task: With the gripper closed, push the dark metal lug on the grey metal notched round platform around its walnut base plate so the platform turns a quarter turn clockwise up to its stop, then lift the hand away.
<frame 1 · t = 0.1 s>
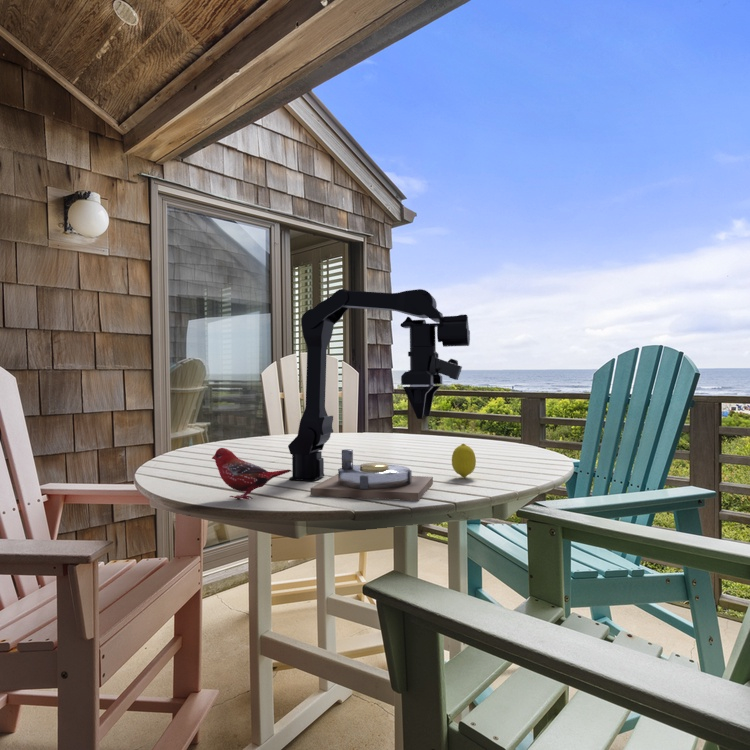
hand: (423, 417, 113), 15 cm above the table, tool pointing down, fingers open, 9 cm apart
decorative bird figurine: (250, 501, 99), on the table
base plate: (374, 489, 107), on the table
notched round platform: (374, 466, 107), point 5 cm above the table, hinge at 0.0°
lemon: (463, 478, 119), on the table
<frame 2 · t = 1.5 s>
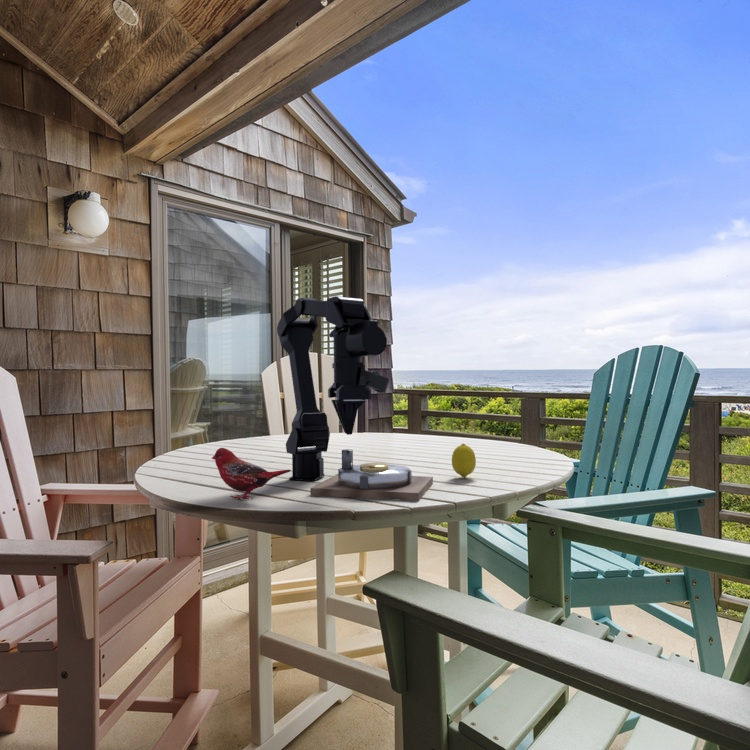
hand: (348, 434, 105), 12 cm above the table, tool pointing down, fingers closed
nothing on the table moved.
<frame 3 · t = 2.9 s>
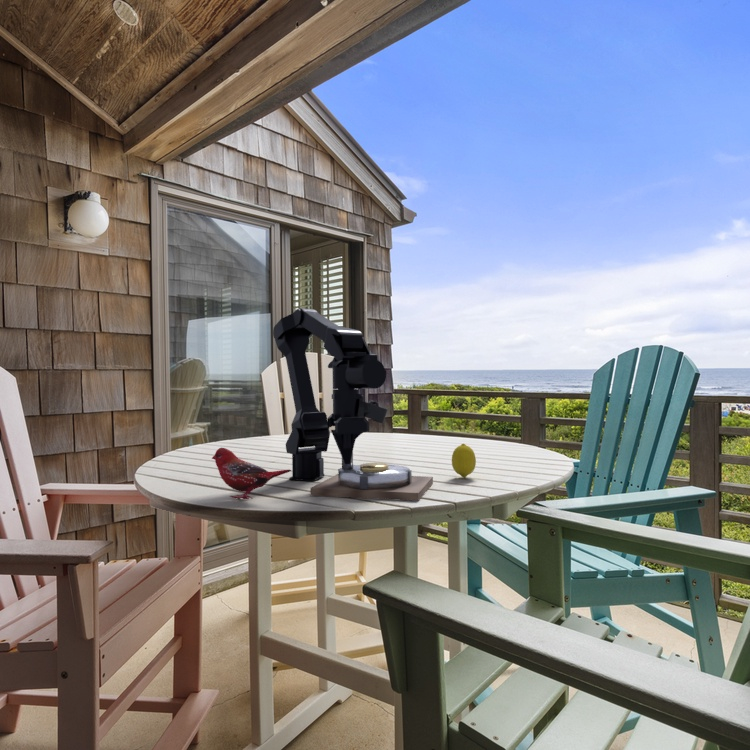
hand: (347, 463, 106), 6 cm above the table, tool pointing down, fingers closed
notched round platform: (374, 466, 107), point 5 cm above the table, hinge at 0.3°, touching gripper
everything else where it was.
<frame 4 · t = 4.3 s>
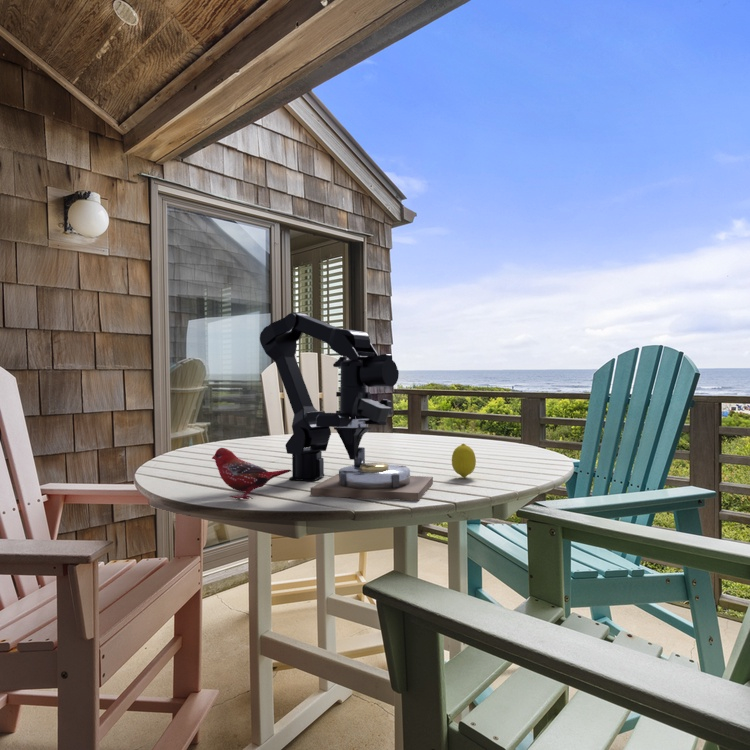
hand: (352, 459, 110), 6 cm above the table, tool pointing down, fingers closed
notched round platform: (374, 466, 107), point 5 cm above the table, hinge at 41.1°, touching gripper
everything else where it was.
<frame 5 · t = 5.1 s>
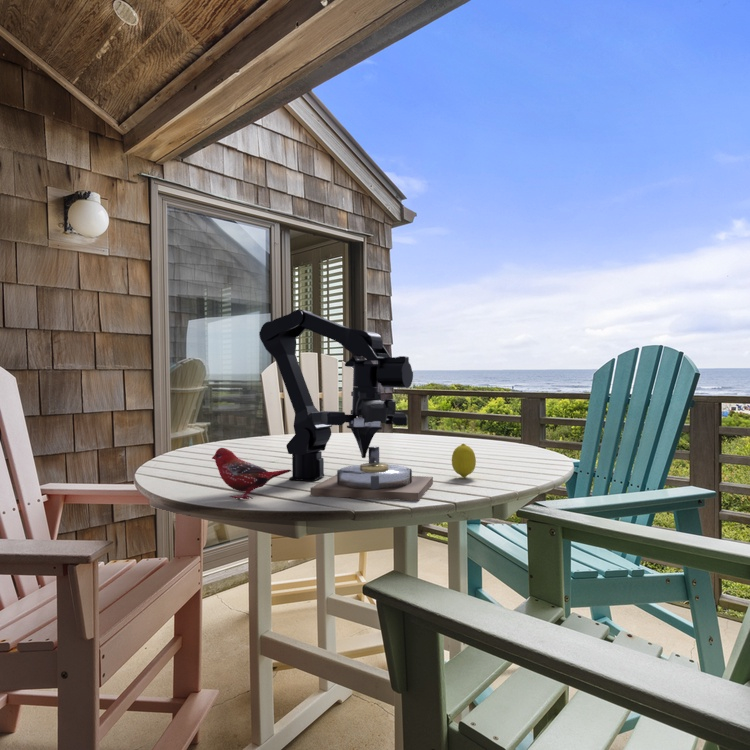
hand: (363, 457, 113), 6 cm above the table, tool pointing down, fingers closed
notched round platform: (374, 466, 107), point 5 cm above the table, hinge at 73.7°, touching gripper
everything else where it was.
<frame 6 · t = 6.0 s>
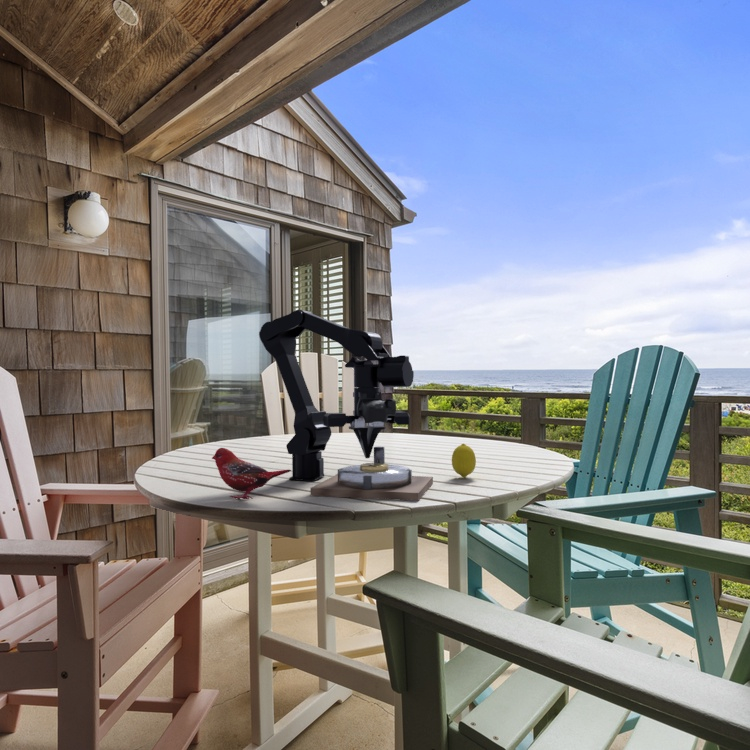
hand: (367, 458, 113), 6 cm above the table, tool pointing down, fingers closed
notched round platform: (374, 466, 107), point 5 cm above the table, hinge at 84.7°, touching gripper
everything else where it was.
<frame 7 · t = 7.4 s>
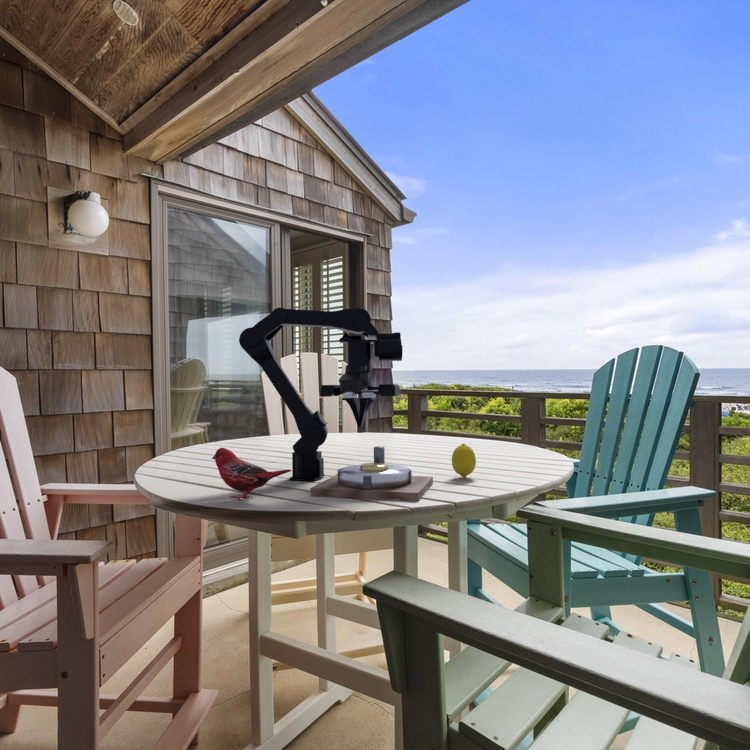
hand: (360, 426, 121), 12 cm above the table, tool pointing down, fingers closed
notched round platform: (374, 466, 107), point 5 cm above the table, hinge at 84.7°
everything else where it was.
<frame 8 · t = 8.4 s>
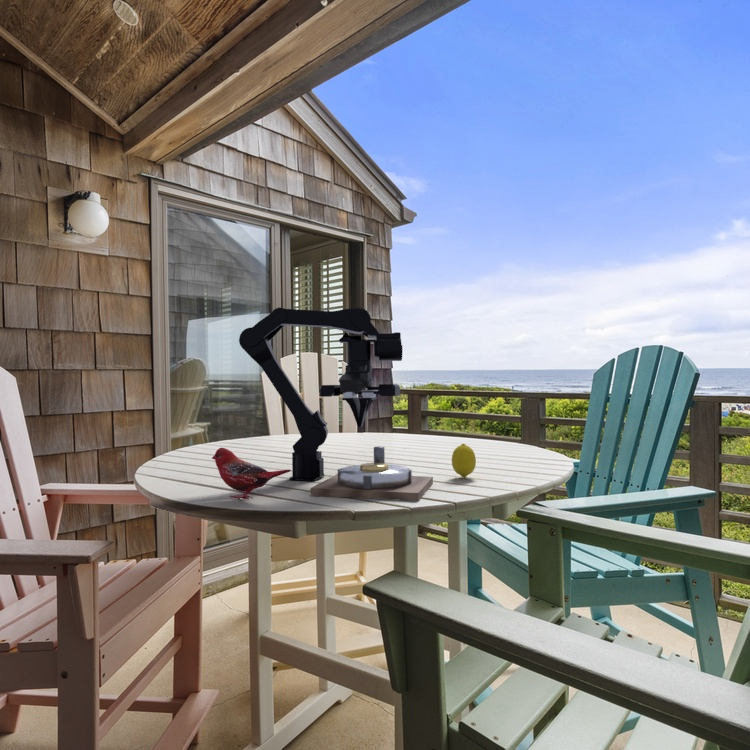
hand: (360, 426, 121), 12 cm above the table, tool pointing down, fingers closed
nothing on the table moved.
at the end: notched round platform at +85° (first picture: +0°); lemon moved 0.2 cm from its start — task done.
